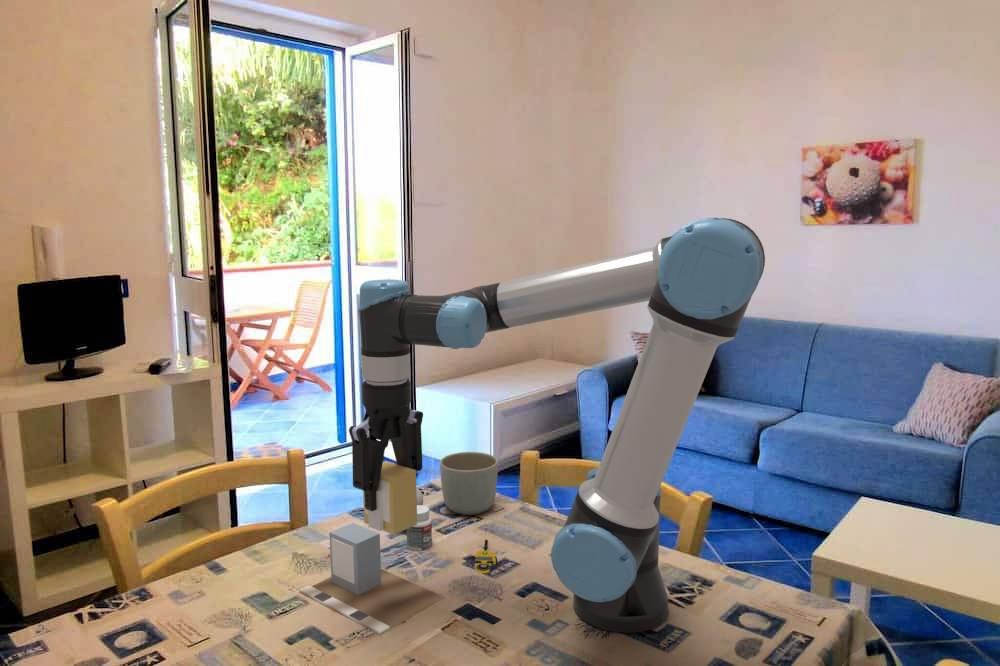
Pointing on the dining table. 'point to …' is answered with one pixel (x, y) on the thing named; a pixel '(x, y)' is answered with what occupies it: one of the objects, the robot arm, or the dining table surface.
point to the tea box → (397, 497)
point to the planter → (469, 481)
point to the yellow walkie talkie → (484, 560)
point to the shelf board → (375, 601)
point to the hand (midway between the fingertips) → (390, 521)
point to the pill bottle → (420, 531)
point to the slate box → (355, 558)
